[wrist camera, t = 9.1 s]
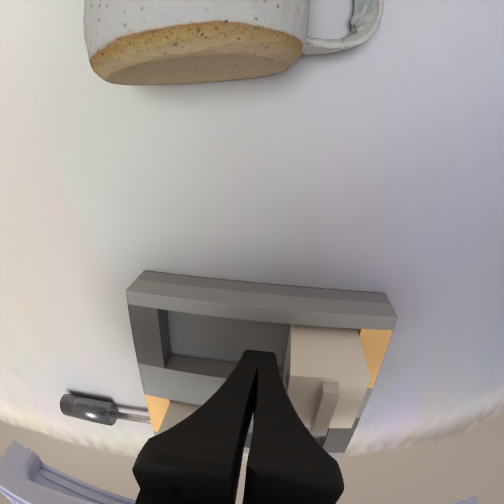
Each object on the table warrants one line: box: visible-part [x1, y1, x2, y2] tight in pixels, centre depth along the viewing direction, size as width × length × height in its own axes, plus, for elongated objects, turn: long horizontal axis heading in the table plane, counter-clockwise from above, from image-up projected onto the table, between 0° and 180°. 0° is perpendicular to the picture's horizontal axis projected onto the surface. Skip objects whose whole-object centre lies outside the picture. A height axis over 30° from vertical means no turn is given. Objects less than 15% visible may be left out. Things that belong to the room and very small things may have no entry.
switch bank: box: [126, 271, 397, 458], centre depth 16 cm, size 12×11×2 cm
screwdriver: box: [60, 394, 152, 426], centre depth 19 cm, size 10×2×2 cm, turn 97°
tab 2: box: [283, 324, 371, 436], centre depth 13 cm, size 3×3×5 cm
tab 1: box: [157, 400, 201, 435], centre depth 16 cm, size 3×3×5 cm
